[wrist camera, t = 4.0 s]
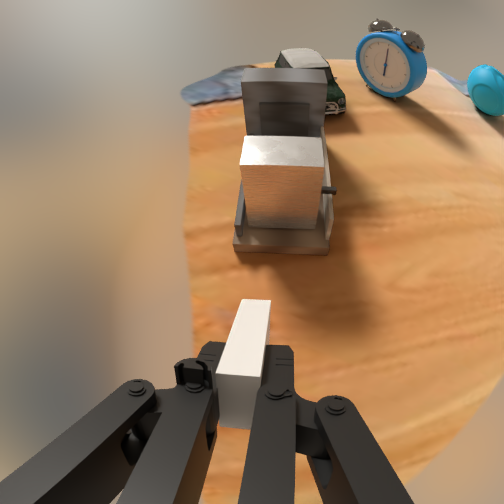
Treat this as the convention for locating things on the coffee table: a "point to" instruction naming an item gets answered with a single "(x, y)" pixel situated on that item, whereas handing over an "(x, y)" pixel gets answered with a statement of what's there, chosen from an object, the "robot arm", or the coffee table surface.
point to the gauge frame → (285, 124)
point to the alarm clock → (391, 60)
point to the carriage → (283, 181)
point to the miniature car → (315, 61)
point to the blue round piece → (487, 89)
